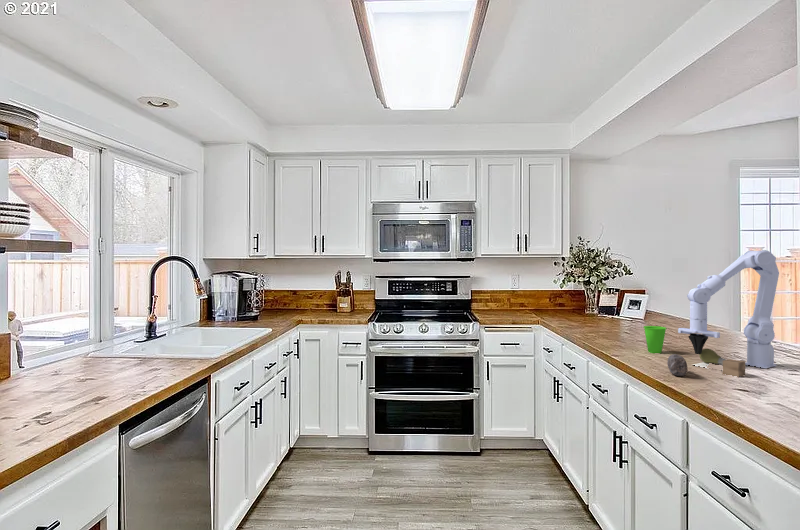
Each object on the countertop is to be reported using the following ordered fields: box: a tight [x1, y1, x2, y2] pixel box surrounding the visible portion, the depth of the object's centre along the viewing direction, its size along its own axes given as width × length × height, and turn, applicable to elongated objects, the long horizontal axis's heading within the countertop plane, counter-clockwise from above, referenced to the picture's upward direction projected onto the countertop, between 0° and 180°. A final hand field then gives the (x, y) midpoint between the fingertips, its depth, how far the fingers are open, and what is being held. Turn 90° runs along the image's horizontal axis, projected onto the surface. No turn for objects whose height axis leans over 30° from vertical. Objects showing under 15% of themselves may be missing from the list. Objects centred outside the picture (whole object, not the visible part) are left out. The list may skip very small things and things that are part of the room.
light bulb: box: [698, 348, 727, 365], centre depth 187 cm, size 6×6×10 cm
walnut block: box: [722, 358, 746, 378], centre depth 171 cm, size 5×5×5 cm
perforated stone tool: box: [666, 353, 689, 377], centre depth 173 cm, size 15×5×7 cm, turn 159°
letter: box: [692, 361, 709, 369], centre depth 183 cm, size 10×14×1 cm
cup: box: [643, 325, 667, 354], centre depth 211 cm, size 9×9×11 cm
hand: (698, 353), depth 188 cm, fingers closed
